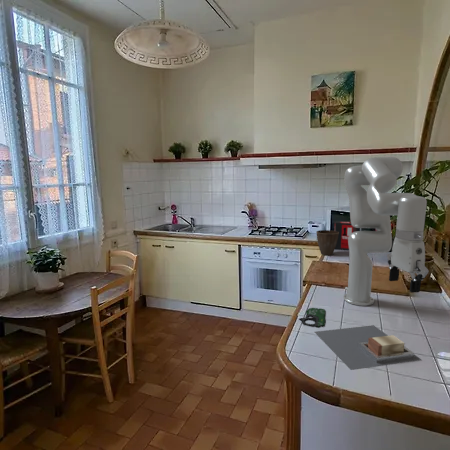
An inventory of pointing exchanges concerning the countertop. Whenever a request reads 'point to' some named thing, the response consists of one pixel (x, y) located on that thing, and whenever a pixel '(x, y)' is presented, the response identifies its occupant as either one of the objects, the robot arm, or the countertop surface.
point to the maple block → (385, 345)
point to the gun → (315, 317)
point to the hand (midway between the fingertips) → (403, 286)
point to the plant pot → (327, 241)
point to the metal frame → (384, 358)
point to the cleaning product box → (343, 234)
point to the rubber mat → (355, 346)
